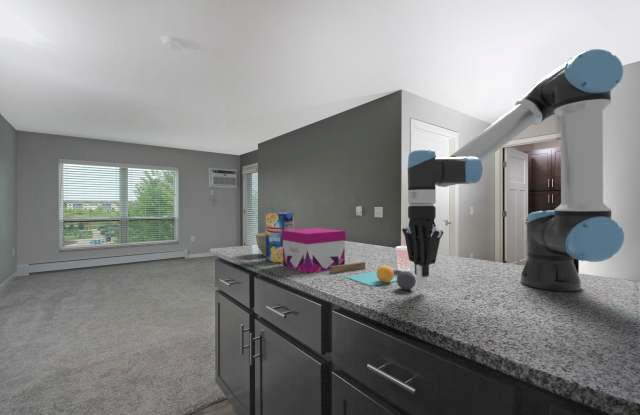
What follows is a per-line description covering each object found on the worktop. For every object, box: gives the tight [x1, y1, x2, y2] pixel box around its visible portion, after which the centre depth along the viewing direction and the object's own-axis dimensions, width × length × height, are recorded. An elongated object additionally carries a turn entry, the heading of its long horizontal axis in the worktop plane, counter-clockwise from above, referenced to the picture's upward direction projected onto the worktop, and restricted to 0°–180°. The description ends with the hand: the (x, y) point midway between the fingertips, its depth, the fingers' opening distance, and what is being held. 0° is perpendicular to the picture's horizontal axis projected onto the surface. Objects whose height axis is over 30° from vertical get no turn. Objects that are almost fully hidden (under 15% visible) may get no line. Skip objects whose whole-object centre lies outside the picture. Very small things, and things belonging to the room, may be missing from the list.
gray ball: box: [396, 271, 417, 291], centre depth 92 cm, size 6×6×6 cm
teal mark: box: [345, 271, 397, 287], centre depth 106 cm, size 14×14×1 cm
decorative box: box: [282, 227, 346, 274], centre depth 127 cm, size 19×19×15 cm
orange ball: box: [376, 265, 395, 284], centre depth 101 cm, size 6×6×6 cm
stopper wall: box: [329, 261, 366, 275], centre depth 118 cm, size 1×16×2 cm, turn 121°
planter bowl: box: [255, 232, 266, 257], centre depth 156 cm, size 16×16×11 cm
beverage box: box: [265, 212, 295, 264], centre depth 139 cm, size 7×11×22 cm, turn 57°
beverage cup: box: [395, 233, 411, 272], centre depth 119 cm, size 6×6×14 cm
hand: (421, 287), depth 88 cm, fingers closed
